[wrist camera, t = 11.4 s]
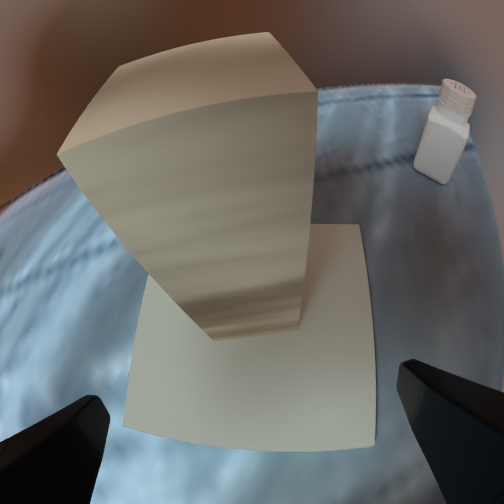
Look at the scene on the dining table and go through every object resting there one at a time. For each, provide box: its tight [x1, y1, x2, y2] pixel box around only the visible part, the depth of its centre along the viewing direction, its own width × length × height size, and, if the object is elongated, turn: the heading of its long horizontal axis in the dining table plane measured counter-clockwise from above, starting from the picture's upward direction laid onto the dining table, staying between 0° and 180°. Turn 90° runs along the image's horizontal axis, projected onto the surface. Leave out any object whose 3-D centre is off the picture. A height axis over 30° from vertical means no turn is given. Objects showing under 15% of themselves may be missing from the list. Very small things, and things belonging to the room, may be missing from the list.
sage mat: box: [123, 224, 376, 452], centre depth 17 cm, size 15×15×1 cm
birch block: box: [57, 32, 318, 342], centre depth 11 cm, size 5×5×14 cm
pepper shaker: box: [413, 79, 476, 185], centre depth 18 cm, size 4×4×10 cm
